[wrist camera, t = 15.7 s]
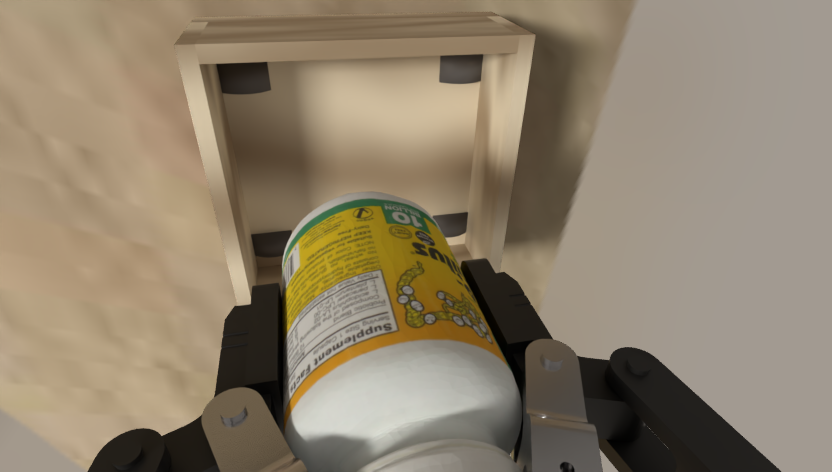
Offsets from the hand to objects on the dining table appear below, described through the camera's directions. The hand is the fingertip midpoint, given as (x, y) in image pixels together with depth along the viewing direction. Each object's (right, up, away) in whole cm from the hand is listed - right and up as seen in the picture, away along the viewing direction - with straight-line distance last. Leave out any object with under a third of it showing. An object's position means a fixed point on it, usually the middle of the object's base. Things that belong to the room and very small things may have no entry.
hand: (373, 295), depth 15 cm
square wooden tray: (-2, +7, +10) cm, 12 cm away
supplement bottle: (0, +1, +2) cm, 2 cm away
